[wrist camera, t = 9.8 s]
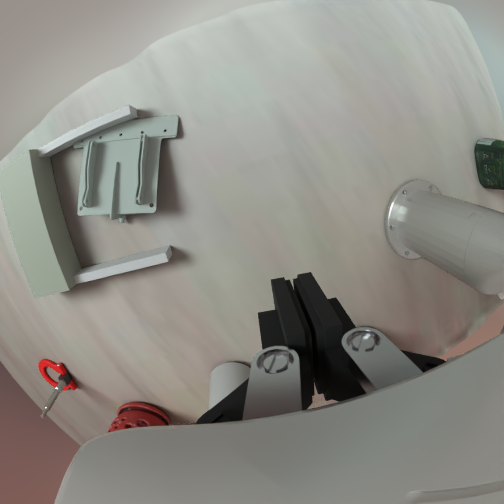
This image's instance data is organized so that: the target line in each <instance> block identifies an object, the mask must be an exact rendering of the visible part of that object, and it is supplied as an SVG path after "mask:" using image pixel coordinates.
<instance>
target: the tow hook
mask: <svg viewBox="0 0 504 504" xmlns="http://www.w3.org/2000/svg"><path fill="white" fill-rule="evenodd" d="M46 366H47V367H50V368H52V369H54V370H55V371H56V372H58V373H61V375H60V376H59V378H58V379H59V380H60V381H59V383H57V382H55V381H54V380H53V379H51V378H50V377H49V376H48V374H47V373H46V371H45V367H46ZM39 370H40V372H41V374H42V376H43V377H44V378H45V379H46V380H47V382H49V383H50V384H51V385H52V386H54V387H55V390H54V392H53V394H52V395H51V397H50V398H49V400H48V402H47V403H46V405H45V407H44V411H43V412H42V414H41V417H42V418H44V417H45V415H46V414H47V412H49V411H50V409H51V407H52V405H53V404H54V402H55V400H56V399H57V397H58V395H59V394H60V393H61V392H62V390H68V389H69V388H72V390H75V389H76V388H77V386H76V385H75V383H74V382H73V380H72V378H71V376H70V375H69V373H68V372H67V371H66V369H65V368H64V366H63V365H62V363H61V362H60V363H58V364H55V363H54V362H52V361H50V360H47V359H42V360H41V361H40V362H39Z"/></svg>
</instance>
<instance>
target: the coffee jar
mask: <svg viewBox="0 0 504 504" xmlns="http://www.w3.org/2000/svg"><path fill="white" fill-rule="evenodd" d="M475 159H476V165H477V171H478V176H479V180H480V183H481V184H482V185H483V186H484V187H485V188H490V189H500V190H504V141H502V140H497V139H491V138H483V139H480V140H479V141H478V142H477V143H476V146H475Z"/></svg>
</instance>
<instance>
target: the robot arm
mask: <svg viewBox="0 0 504 504" xmlns="http://www.w3.org/2000/svg"><path fill="white" fill-rule="evenodd" d="M385 230H386V236H387V239H388V242H389V244H390V246H391V247H392V249H393V250H394V251H395V252H396V253H398V254H399V255H400V256H402V257H404V258H407V259H418V258H421V257H424V258H425V259H427V260H429V261H430V262H432V263H434V264H435V265H437V266H439V267H440V268H442V269H443V270H445V271H447V272H448V273H450V274H451V275H453V276H455V277H456V278H458V279H459V280H461V281H462V282H464V283H465V284H467V285H469V286H470V287H472V288H473V289H475V290H476V291H478V292H480V293H482V294H486V295H495V294H499V293H502V292H504V213H501V212H499V211H495V210H492V209H489V208H486V207H483V206H480V205H476V204H473V203H469V202H466V201H462V200H459V199H455V198H452V197H448V196H444V195H441V194H440V192H439V191H438V189H437V188H436V187H435V186H434V185H433V184H431V183H429V182H428V181H424V180H411V181H408V182H406V183H404V184H403V185H402V186H400V187H399V188H398V190H397V191H396V192H395V193H394V195H393V196H392V198H391V200H390V202H389V205H388V208H387V212H386V218H385ZM293 284H294V289H293V287H292V284H291V282H290V280H285V279H284V277H283V278H277V279H272V280H271V285H272V291H273V298H274V304H275V310H271V311H265V312H260V313H258V318H259V325H260V333H261V341H262V348H263V350H261V351H260V352H258V353H257V354H256V355H255V356H254V357H253V360H252V362H251V369H250V375H249V378H248V379H247V380H246V381H244V382H243V383H242V384H241V385H240V386H238V387H237V388H236V389H235V390H234V391H232V392H231V393H230V394H229V395H227V396H226V397H225V398H224V399H223V400H221V401H220V402H219V403H217V404H216V405H215V406H214V407H212V408H211V409H210V410H209V411H207V412H206V413H205V414H203V415H202V416H201V417H200V418H199V419H198V421H197V422H196V423H191V424H190V423H189V421H185V422H180V423H175V424H170V425H165V426H149V427H136V428H129V429H122V430H117V431H113V432H109V433H105V434H102V435H99V436H96V437H94V438H92V439H90V440H88V441H87V442H85V443H84V444H83V445H82V446H81V448H80V449H79V450H78V452H77V453H76V455H75V456H74V458H73V460H72V461H71V463H70V465H69V467H68V469H67V471H66V474H65V476H64V478H63V481H62V483H61V486H60V489H59V492H58V494H57V497H56V501H55V503H54V504H504V326H503V329H502V331H501V333H500V335H498V336H496V337H494V338H492V339H490V340H489V341H487V342H485V343H483V344H481V345H479V346H477V347H475V348H473V349H472V350H470V351H468V352H466V353H464V354H462V355H459V356H456V357H451V358H448V359H447V362H446V361H444V360H442V359H439V358H436V357H431V356H426V355H421V354H416V353H412V352H407V351H403V350H399V349H398V348H397V347H396V346H395V345H394V344H393V343H392V342H391V341H390V340H389V339H388V338H387V337H386V336H385V335H384V334H383V333H381V332H380V331H378V330H376V329H374V328H369V327H359V328H356V327H355V325H354V324H353V322H352V321H351V319H350V318H349V316H348V315H347V313H346V312H345V310H344V309H343V307H342V306H341V304H340V303H339V301H338V300H337V298H331V299H327V298H326V296H325V294H324V293H323V291H322V289H321V288H320V286H319V285H318V283H317V281H316V280H315V278H314V277H313V275H312V273H311V272H309V273H304V274H299V275H298V276H297V278H296V279H293ZM314 383H315V386H316V389H317V392H318V394H322V393H323V394H324V397H325V400H326V401H328V400H332V399H333V400H336V401H339V402H337V403H333V404H329V405H325V406H321V407H317V408H312V409H308V410H307V408H308V407H309V406H310V405H311V404H312V396H313V395H314Z"/></svg>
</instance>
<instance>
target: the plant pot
mask: <svg viewBox="0 0 504 504" xmlns="http://www.w3.org/2000/svg"><path fill="white" fill-rule="evenodd" d="M117 415H118V417H117V418H116V419H115V420H114V421H113V423H112V424H111V426H110V428H109V430H108V433H109V432H113V431H117V430H122V429H129V428H136V427H149V426H165V425H170V424H171V422H170V420H169V418H168V417H167V416H166V415H165V414H164V413H163V412H162V411H160V410H159V409H157V408H155V407H153V406H151V405H148V404H145V403H140V402H131V403H126V404H124V405H122V406H121V407H120V408H119V409H118V412H117Z"/></svg>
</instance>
